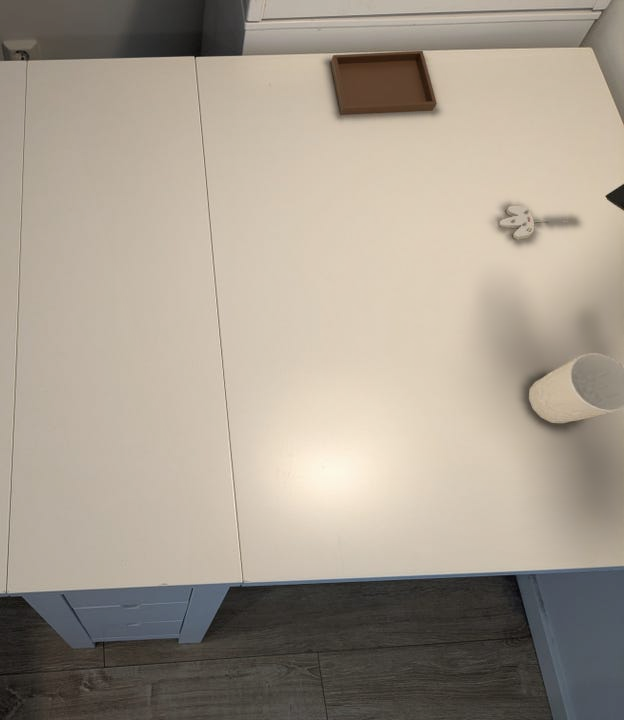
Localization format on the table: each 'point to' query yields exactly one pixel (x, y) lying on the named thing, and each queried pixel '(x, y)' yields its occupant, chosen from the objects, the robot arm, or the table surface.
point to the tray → (382, 83)
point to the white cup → (579, 389)
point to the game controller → (519, 221)
